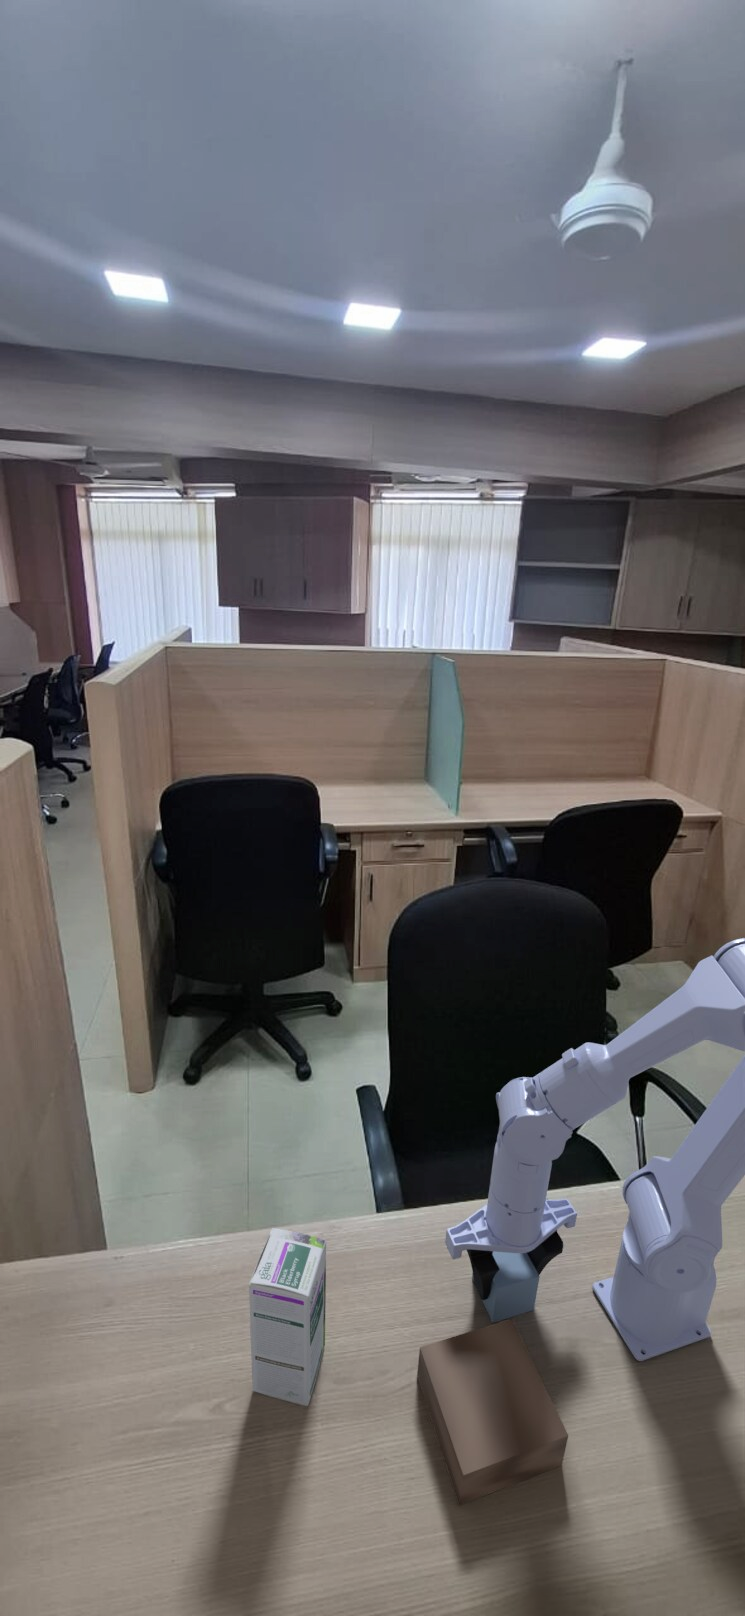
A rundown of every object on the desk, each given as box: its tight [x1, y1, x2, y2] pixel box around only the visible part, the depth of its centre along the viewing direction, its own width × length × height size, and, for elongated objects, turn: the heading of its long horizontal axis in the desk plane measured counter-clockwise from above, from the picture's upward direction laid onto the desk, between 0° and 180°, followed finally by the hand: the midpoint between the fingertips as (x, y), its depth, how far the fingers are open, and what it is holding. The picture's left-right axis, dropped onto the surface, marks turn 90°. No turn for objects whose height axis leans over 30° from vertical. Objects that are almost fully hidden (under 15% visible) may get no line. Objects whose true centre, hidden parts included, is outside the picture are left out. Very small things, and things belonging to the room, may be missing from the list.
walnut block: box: [416, 1318, 569, 1506], centre depth 60 cm, size 10×10×4 cm
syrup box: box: [248, 1227, 327, 1407], centre depth 62 cm, size 6×6×14 cm
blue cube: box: [471, 1251, 540, 1323], centre depth 71 cm, size 5×5×5 cm
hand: (503, 1284), depth 72 cm, fingers closed on blue cube, 5 cm apart
